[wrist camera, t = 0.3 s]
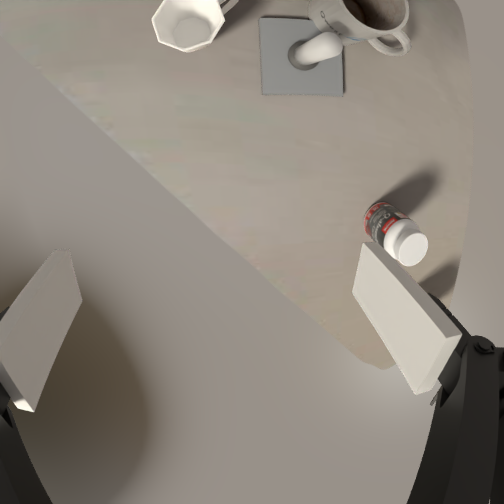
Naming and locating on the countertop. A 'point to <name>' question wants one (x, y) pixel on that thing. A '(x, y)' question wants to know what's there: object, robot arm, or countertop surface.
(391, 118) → the countertop surface
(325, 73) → the peg stand with ring
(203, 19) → the cup
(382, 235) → the pill bottle
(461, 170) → the countertop surface
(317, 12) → the mug
